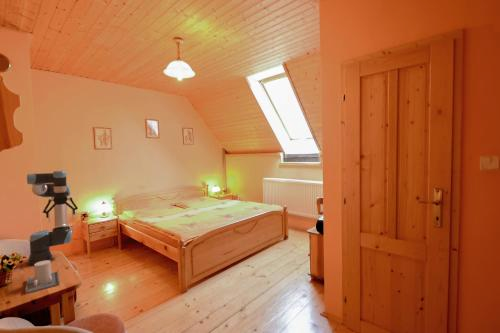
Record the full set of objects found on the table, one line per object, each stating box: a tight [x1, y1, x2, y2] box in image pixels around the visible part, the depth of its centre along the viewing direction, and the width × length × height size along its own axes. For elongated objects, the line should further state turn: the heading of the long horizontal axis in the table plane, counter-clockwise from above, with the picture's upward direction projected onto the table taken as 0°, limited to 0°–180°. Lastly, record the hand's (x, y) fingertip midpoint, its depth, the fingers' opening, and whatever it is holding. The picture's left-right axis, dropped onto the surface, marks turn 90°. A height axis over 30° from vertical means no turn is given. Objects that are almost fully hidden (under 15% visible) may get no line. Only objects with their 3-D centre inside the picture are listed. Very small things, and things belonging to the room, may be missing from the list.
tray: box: [24, 269, 60, 295], centre depth 159 cm, size 22×16×5 cm
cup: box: [33, 260, 52, 284], centre depth 159 cm, size 8×8×12 cm
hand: (61, 220), depth 180 cm, fingers open, 13 cm apart
